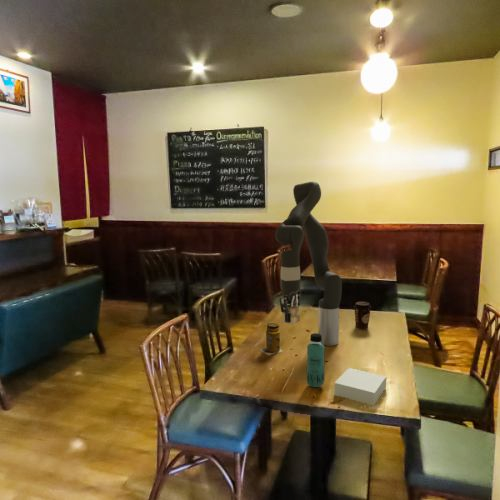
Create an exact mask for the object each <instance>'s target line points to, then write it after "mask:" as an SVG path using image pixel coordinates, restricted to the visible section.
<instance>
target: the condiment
mask: <svg viewBox="0 0 500 500" xmlns="http://www.w3.org/2000/svg"><path fill="white" fill-rule="evenodd" d="M265 333H266V334H265V336H266V337H265V339H266V341H265V343H266V347H264V348H260V349H259V351H260V352H262V353H263V354H265V355H267V356H271V355H274V354H279V353H282V352H284V350H282V349H281V339H280V338H281V333H280V325H279V323H276V322H271V323H268V324H267V325H266V332H265Z"/></svg>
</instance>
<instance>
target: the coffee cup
mask: <svg viewBox="0 0 500 500" xmlns="http://www.w3.org/2000/svg"><path fill="white" fill-rule="evenodd" d="M353 309H354V317H355V318H354V322H355V325H354V327H355V329H357V330H362V331H363V330H367V329H369V323H370V317H371V309H372V306H371V305H370V302H368V301H357V302H355V304H354V305H353Z"/></svg>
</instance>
